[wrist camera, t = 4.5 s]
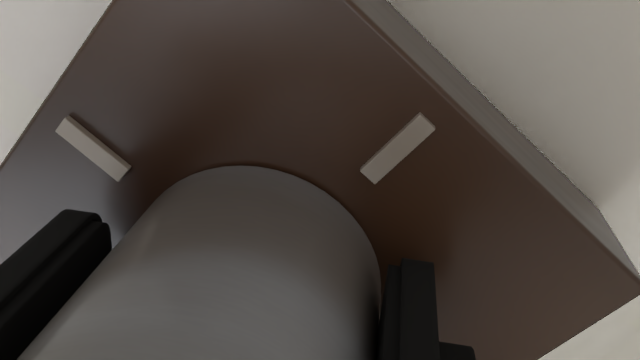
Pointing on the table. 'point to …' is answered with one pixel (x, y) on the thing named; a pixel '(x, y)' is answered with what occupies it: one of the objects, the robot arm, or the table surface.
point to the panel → (325, 154)
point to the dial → (227, 279)
